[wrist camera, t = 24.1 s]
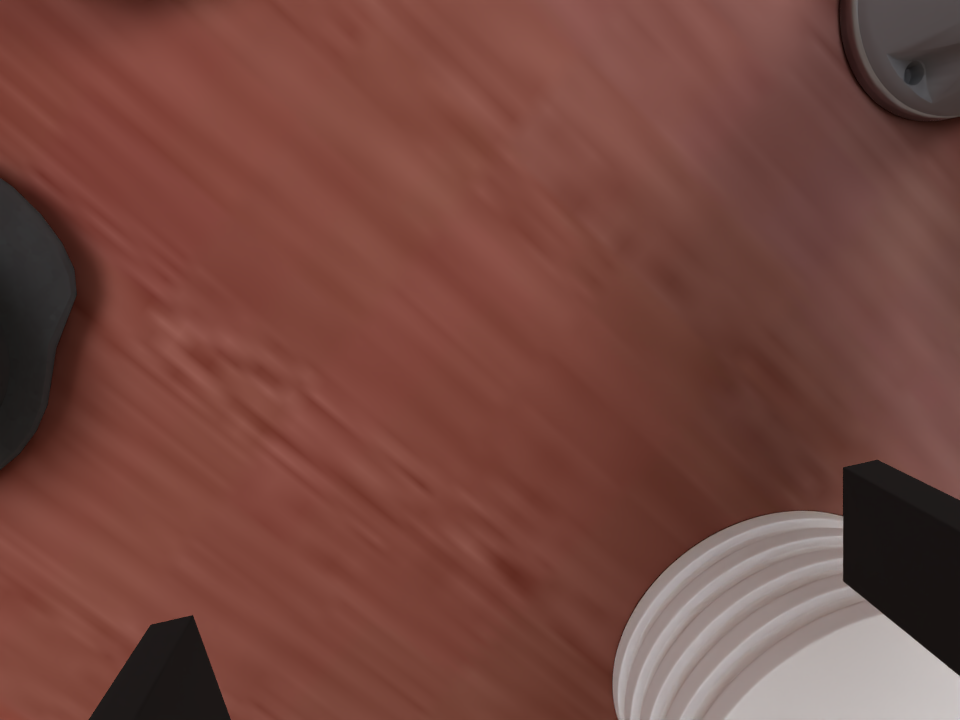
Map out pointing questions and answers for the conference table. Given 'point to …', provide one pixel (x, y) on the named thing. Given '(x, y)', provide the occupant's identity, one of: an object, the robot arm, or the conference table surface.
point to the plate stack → (772, 636)
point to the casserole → (28, 316)
